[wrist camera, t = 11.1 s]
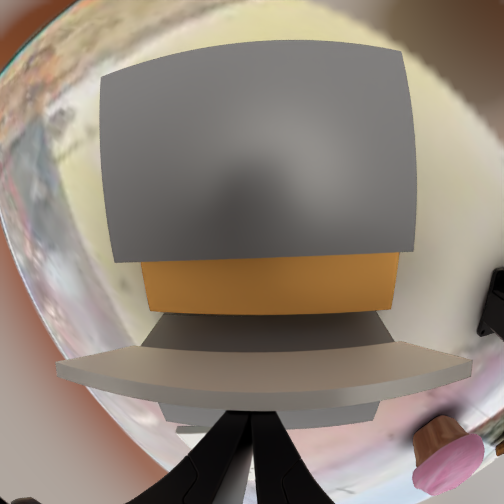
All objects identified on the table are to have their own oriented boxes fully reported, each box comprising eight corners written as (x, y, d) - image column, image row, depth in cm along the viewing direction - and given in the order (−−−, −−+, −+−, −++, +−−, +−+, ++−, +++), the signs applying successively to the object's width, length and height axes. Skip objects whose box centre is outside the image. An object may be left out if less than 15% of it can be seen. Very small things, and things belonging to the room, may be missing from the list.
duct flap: (472, 360, 6) (470, 376, 6) (400, 341, 12) (400, 351, 12) (55, 361, 8) (57, 376, 7) (133, 345, 14) (134, 355, 14)
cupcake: (387, 442, 22) (405, 509, 13) (443, 394, 20) (479, 462, 10) (423, 448, 23) (441, 502, 13) (471, 407, 20) (501, 459, 11)
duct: (372, 76, 13) (401, 51, 9) (360, 380, 19) (372, 420, 15) (138, 94, 14) (100, 77, 10) (181, 383, 21) (166, 421, 16)
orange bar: (399, 250, 13) (390, 309, 14) (377, 235, 16) (372, 285, 17) (139, 254, 14) (150, 311, 15) (163, 239, 17) (169, 287, 18)
